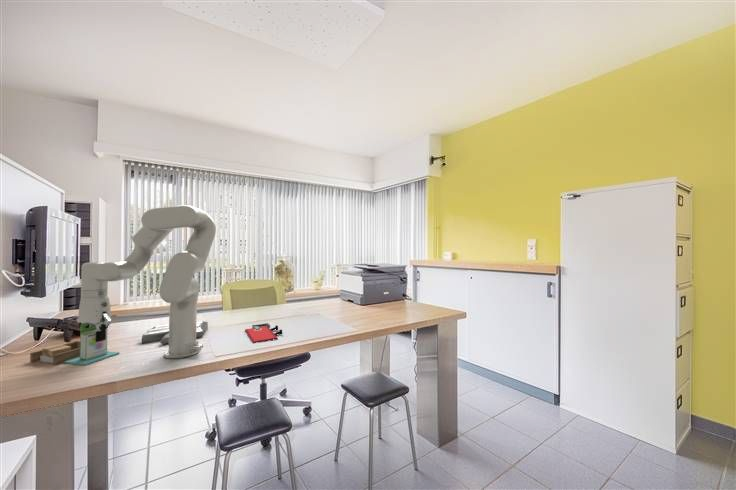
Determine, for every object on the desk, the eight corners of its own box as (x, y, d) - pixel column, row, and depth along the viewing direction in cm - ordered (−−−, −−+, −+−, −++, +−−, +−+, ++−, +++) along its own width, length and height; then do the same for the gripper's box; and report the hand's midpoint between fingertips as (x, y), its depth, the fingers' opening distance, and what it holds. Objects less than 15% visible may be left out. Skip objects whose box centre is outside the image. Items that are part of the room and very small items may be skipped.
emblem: (177, 317, 159) (221, 320, 153) (177, 327, 159) (221, 330, 153) (125, 331, 132) (177, 335, 126) (125, 343, 131) (177, 348, 126)
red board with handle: (271, 324, 165) (243, 328, 158) (271, 319, 165) (243, 323, 158) (285, 339, 140) (252, 345, 132) (285, 333, 140) (252, 338, 132)
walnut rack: (100, 350, 120) (100, 342, 120) (55, 365, 106) (55, 355, 106) (77, 348, 123) (77, 340, 123) (30, 362, 108) (30, 353, 108)
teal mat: (119, 353, 117) (119, 352, 117) (85, 365, 105) (85, 363, 105) (99, 351, 119) (99, 350, 119) (64, 363, 107) (64, 361, 107)
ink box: (86, 360, 108) (87, 324, 109) (79, 359, 109) (79, 324, 110) (107, 354, 115) (108, 320, 115) (100, 353, 116) (101, 319, 116)
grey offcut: (73, 359, 113) (73, 352, 113) (55, 364, 107) (55, 357, 107) (58, 357, 114) (58, 350, 115) (40, 362, 109) (40, 355, 109)
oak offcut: (70, 353, 112) (71, 346, 112) (52, 357, 107) (52, 351, 107) (60, 350, 115) (61, 344, 115) (42, 354, 110) (42, 348, 110)
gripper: (122, 293, 115) (121, 338, 114) (87, 291, 118) (86, 335, 118) (101, 296, 107) (100, 344, 107) (65, 294, 111) (64, 341, 110)
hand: (93, 339), depth 112 cm, fingers open, 6 cm apart
